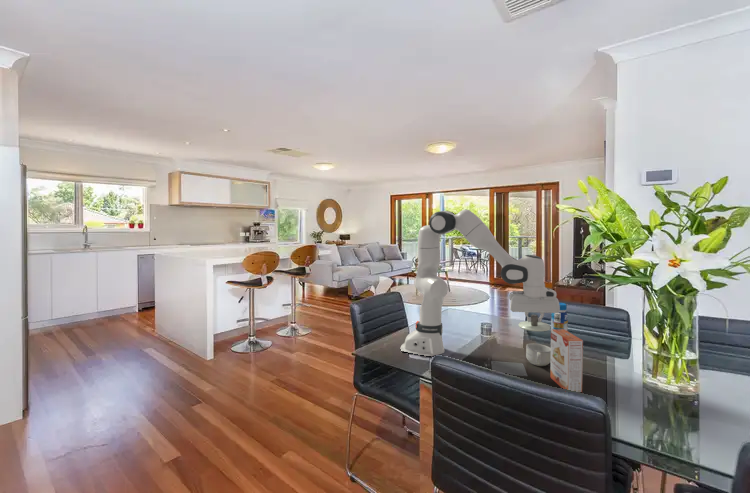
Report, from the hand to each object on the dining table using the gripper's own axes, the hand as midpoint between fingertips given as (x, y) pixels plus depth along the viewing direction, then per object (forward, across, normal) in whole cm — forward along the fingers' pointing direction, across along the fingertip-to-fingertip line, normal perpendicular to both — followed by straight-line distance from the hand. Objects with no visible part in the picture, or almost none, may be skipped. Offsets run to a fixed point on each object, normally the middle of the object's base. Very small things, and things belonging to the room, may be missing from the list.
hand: (534, 321), depth 157 cm
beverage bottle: (+22, +18, +43) cm, 51 cm away
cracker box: (+20, +8, -18) cm, 29 cm away
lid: (+2, 0, 0) cm, 2 cm away
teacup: (+21, +2, +2) cm, 21 cm away
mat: (+20, -12, -6) cm, 24 cm away
